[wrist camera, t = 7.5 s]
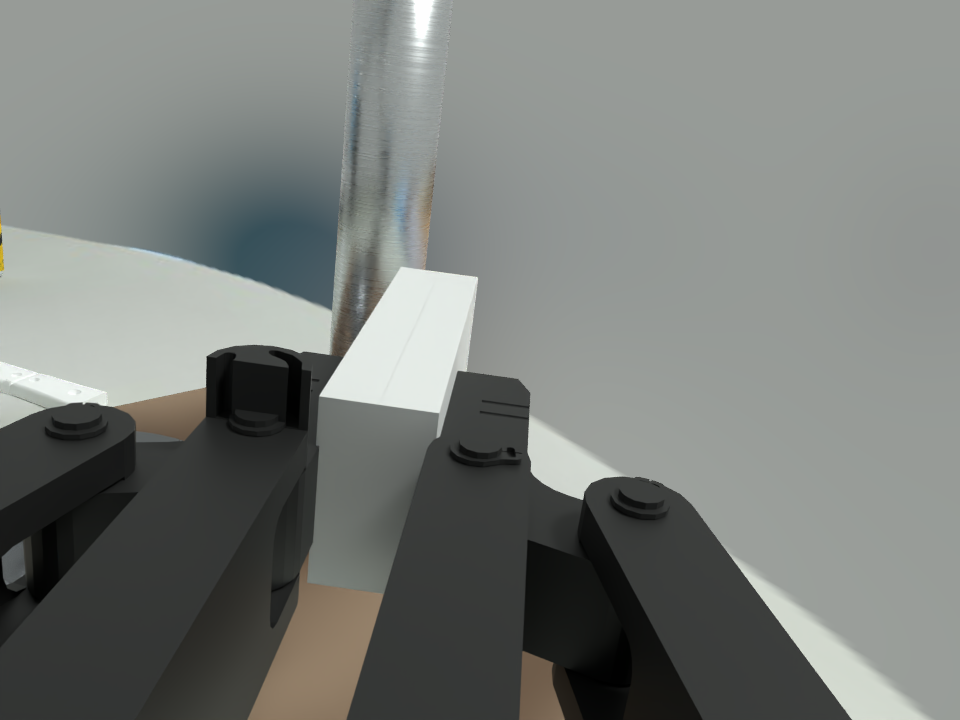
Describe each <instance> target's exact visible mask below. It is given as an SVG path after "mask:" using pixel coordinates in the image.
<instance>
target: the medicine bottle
mask: <svg viewBox="0 0 960 720" xmlns="http://www.w3.org/2000/svg"><path fill="white" fill-rule="evenodd" d="M3 272H4V262H3V247H2V232H1V217H0V276H1V275H2V274H3Z"/></svg>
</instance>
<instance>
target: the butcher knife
mask: <svg viewBox="0 0 960 720" xmlns="http://www.w3.org/2000/svg"><path fill="white" fill-rule="evenodd" d="M0 392H1V393H5V394H9V395H13V396H16V397H18V398H21V399H24V400H27V401H29V402H32V403H35V404H37V405H40V406H42V407H45V408H48V409H49V408H52V407H59V406H66V405H67V404H69V403H79V402H83V404H85V403H86V402H88V403H98V404H99V405H102V406H105V405H107V393H106V392H104V391H100V390H97V389H93V388H90V387H86V386H83V385H79V384H76V383H73V382H69V381H66V380H62V379H59V378H55V377H52V376H48V375H45V374H41V373H38V374H37V373H36V372H34V371H30V370H27V369H24V368H20V367H17V366H13V365H10V364H7V363H3V362H0Z"/></svg>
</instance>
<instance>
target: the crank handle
mask: <svg viewBox="0 0 960 720" xmlns="http://www.w3.org/2000/svg"><path fill="white" fill-rule="evenodd" d="M452 4H453V0H353V15H352V29H351V43H350V59H349V72H348V88H347V103H346V118H345V133H344V147H343V162H342V176H341V191H340V206H339V220H338V236H337V250H336V265H335V281H334V295H333V309H332V324H331V339H330V354H329V355H332V356H340V357H344V356H345V355H346V353H347V351H348V350H349V348H350V347H351V345H352V343H353V342H354V340H355V339H356V337H357V336H358V334H359V332H360V331H361V329H362V328H363V326H364V325H365V323H366V321H367V320H368V318H369V317H370V315H371V314H372V312H373V310H374V309H375V307H376V306H377V304H378V303H379V301H380V299H381V298H382V296H383V295H384V293H385V291H386V290H387V288H388V287H389V285H390V284H391V282H392V280H393V279H394V277H395V276H396V274H397V273H398V271H399V269H400V268H401V267H406V268H413V269H420V270H425V265H426V264H425V263H426V254H427V246H428V236H429V226H430V216H431V207H432V197H433V188H434V178H435V169H436V159H437V149H438V140H439V129H440V121H441V111H442V101H443V91H444V82H445V72H446V63H447V53H448V44H449V34H450V23H451V15H452ZM173 441H183V440H179V439H176V438H172V437H168V436H164V435H159V434H153V433H147V432H139V431H136V442H173ZM2 567H3V579H4V581H5V584H6V585H7V584H10V583H13V582H14V581H16V580H17V579H19V578H20V577H22V576H23V575H25V563H24V548H23V541H21V542H20V543H18V544H17V545H15V546H13V547H12V548H11V549H10V550H9V551H8V552H7V553H6V554H5V555H4V556H3V557H2Z"/></svg>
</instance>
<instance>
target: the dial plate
mask: <svg viewBox="0 0 960 720" xmlns="http://www.w3.org/2000/svg"><path fill="white" fill-rule="evenodd" d="M114 408H117V409H119V410H122V411H124V412H126V413H129V414H130V416H131V417H132V418H133V419H134V420H135V421H136V431H139V432H147V433H153V434H159V435H164V436H168V437H172V438H176V439H179V440H183V441H185V439H186V438H187V437H188V436H189V435H190V434H191V433H192V432H193V430H194V429H195V428H196V427H197V426H198V425H199V424H200V423H201V422H202V420H203V419H204V418H205V417H206V388H202V389H197V390H192V391H188V392H183V393H178V394H173V395H168V396H164V397H159V398H154V399H149V400H145V401H140V402H135V403H130V404H126V405H121V406H116V407H114ZM308 562H309V552H308V554H307V557H306V559H305V561H304V563H303V565H302V567H301V569H300V580H299V595H298V605H297V607H296V609H295V612H294V614H293V616H292V618H291V621H290V623H289V625H288V628H287V630H286V632H285V635H284V637H283V639H282V641H281V644H280V646H279V648H278V651H277V653H276V655H275V658H274V660H273V662H272V664H271V667H270V669H269V671H268V674H267V676H266V678H265V681H264V683H263V685H262V687H261V690H260V692H259V694H258V697H257V699H256V701H255V704H254V706H253V708H252V710H251V713H250V715H249V717H248V720H346V719H347V716H348V712H349V709H350V706H351V702H352V699H353V696H354V692H355V689H356V685H357V682H358V679H359V675H360V672H361V669H362V665H363V662H364V659H365V655H366V652H367V649H368V645H369V642H370V639H371V635H372V632H373V628H374V625H375V622H376V618H377V615H378V612H379V608H380V605H381V602H382V598H383V595H384V594H380V593H374V592H367V591H360V590H353V589H346V588H339V587H333V586H326V585H319V584H312V583H307V578H308ZM552 666H553V663H552V662H550V661H547V660H545V659H542V658H540V657H537V656H534V655H532V654H529V653H527V652H524V651H522V672H521V694H520V716H519V720H565V719H564V716H563V713H562V710H561V707H560V704H559V701H558V698H557V695H556V692H555V689H554V686H553V681H552Z"/></svg>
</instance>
